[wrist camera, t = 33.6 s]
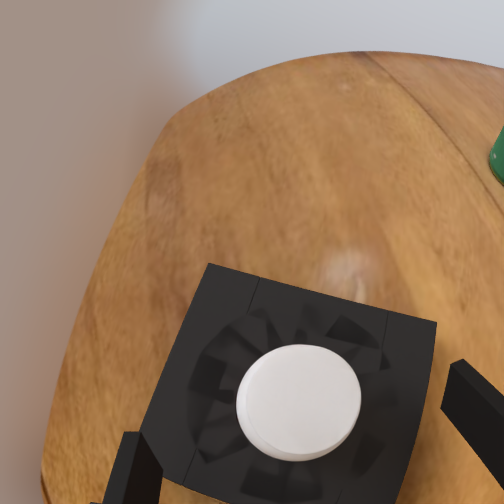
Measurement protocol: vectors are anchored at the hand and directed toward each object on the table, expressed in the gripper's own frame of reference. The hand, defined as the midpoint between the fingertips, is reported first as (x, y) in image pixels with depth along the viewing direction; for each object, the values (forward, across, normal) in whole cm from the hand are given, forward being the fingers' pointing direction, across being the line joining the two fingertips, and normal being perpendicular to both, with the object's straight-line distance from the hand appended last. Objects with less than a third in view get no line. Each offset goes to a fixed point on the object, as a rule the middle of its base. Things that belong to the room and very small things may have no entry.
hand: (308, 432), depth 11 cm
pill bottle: (+9, 0, -7) cm, 11 cm away
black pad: (+9, 0, -6) cm, 11 cm away
